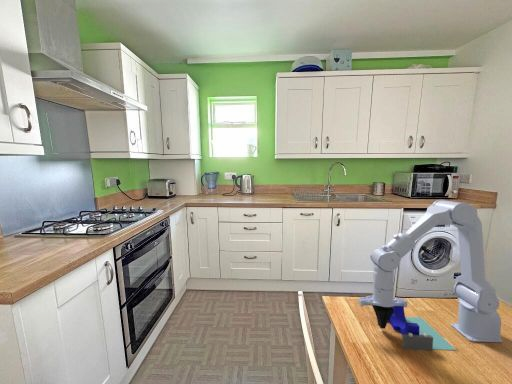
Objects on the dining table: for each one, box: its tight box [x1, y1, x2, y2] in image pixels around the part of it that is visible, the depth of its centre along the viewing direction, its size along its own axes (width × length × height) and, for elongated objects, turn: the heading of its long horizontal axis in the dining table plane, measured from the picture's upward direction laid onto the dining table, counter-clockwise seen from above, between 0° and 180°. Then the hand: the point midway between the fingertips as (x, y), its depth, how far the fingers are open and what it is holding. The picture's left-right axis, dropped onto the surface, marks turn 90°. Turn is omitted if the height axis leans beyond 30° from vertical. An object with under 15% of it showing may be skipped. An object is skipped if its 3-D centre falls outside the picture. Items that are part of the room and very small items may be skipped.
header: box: [401, 333, 434, 352], centre depth 73 cm, size 8×16×5 cm, turn 177°
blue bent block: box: [388, 306, 419, 336], centre depth 73 cm, size 12×4×6 cm, turn 168°
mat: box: [405, 316, 457, 351], centre depth 73 cm, size 8×15×1 cm, turn 177°
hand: (381, 326), depth 74 cm, fingers closed
